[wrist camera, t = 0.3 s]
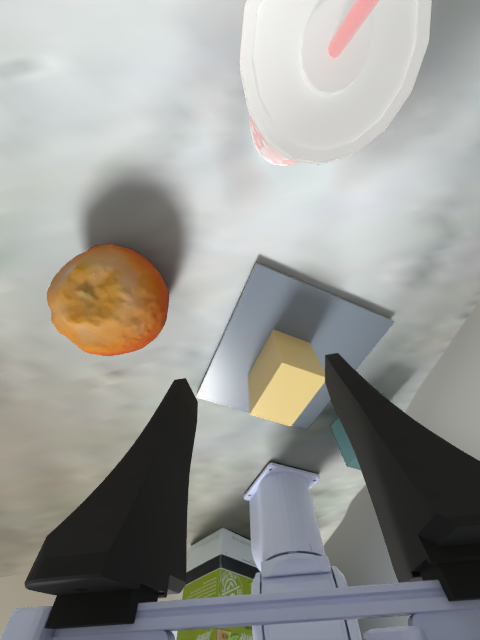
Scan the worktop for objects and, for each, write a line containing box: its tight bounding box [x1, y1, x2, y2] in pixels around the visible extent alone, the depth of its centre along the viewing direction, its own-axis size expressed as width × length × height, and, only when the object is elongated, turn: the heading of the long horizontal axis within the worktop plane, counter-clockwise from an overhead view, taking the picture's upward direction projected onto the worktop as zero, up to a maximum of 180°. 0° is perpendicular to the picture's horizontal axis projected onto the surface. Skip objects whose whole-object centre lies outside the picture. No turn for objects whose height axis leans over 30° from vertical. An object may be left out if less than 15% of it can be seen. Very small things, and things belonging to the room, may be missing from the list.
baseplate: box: [196, 262, 394, 429], centre depth 24 cm, size 16×14×1 cm
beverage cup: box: [239, 0, 432, 166], centre depth 9 cm, size 6×6×14 cm
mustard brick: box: [248, 329, 325, 426], centre depth 22 cm, size 6×4×5 cm, turn 157°
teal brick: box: [331, 417, 361, 470], centre depth 26 cm, size 6×4×5 cm, turn 157°
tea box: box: [177, 528, 260, 640], centre depth 39 cm, size 15×10×15 cm, turn 48°
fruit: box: [47, 244, 169, 356], centre depth 18 cm, size 8×8×8 cm
